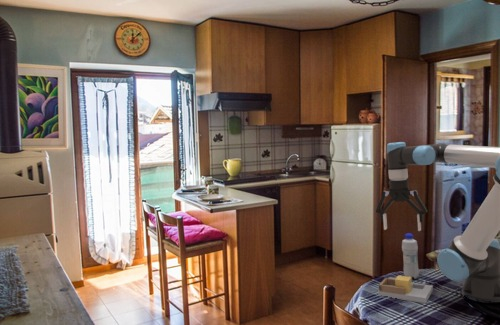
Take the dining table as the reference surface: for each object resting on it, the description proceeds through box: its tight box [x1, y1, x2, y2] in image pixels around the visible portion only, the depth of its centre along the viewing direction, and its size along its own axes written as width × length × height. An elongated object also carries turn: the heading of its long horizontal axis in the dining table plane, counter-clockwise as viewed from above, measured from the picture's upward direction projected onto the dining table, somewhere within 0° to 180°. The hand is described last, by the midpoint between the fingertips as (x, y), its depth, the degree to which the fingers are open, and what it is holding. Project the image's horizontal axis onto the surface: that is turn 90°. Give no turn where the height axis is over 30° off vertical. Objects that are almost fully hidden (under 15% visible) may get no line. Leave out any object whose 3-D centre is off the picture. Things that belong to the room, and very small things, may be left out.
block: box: [395, 275, 413, 294], centre depth 159 cm, size 5×5×5 cm
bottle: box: [401, 232, 420, 280], centre depth 177 cm, size 7×7×20 cm
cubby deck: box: [377, 277, 434, 304], centre depth 161 cm, size 18×14×4 cm
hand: (402, 229), depth 166 cm, fingers open, 13 cm apart
